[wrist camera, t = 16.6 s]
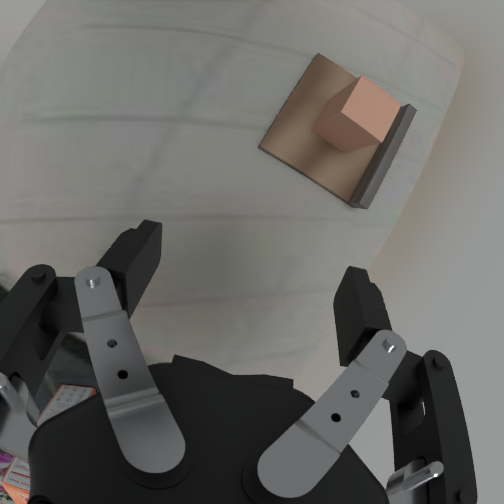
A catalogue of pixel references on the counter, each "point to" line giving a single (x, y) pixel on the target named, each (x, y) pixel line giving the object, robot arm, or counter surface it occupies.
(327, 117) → the carton
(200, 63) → the counter surface
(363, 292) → the robot arm
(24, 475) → the cracker box
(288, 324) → the counter surface
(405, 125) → the shelf board
